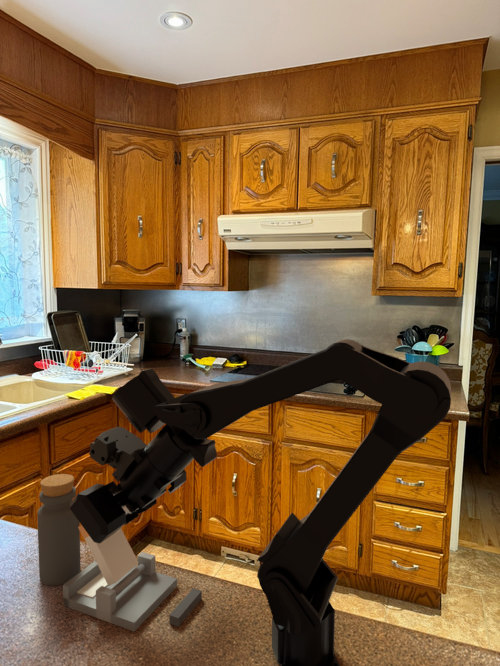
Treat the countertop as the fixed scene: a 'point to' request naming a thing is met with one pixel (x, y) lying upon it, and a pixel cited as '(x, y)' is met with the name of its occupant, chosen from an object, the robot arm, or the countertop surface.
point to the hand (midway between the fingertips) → (103, 523)
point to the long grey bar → (185, 607)
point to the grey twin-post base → (130, 605)
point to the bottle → (58, 531)
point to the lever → (115, 559)
